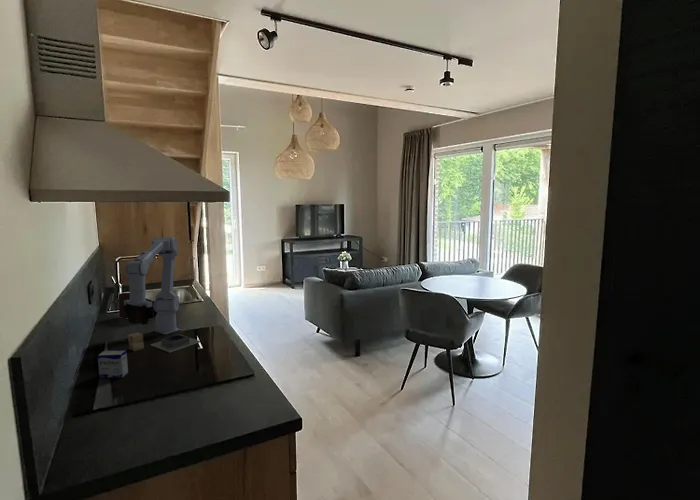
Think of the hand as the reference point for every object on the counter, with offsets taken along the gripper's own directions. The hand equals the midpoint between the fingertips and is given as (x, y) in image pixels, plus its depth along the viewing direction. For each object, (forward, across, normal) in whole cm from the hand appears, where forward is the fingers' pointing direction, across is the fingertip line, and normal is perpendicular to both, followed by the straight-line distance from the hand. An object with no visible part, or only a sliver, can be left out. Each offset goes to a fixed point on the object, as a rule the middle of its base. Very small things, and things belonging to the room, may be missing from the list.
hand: (138, 323), depth 162 cm
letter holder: (+8, -43, +32) cm, 54 cm away
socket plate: (+11, +8, +12) cm, 17 cm away
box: (+14, +14, -20) cm, 27 cm away
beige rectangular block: (+11, -3, +1) cm, 12 cm away
